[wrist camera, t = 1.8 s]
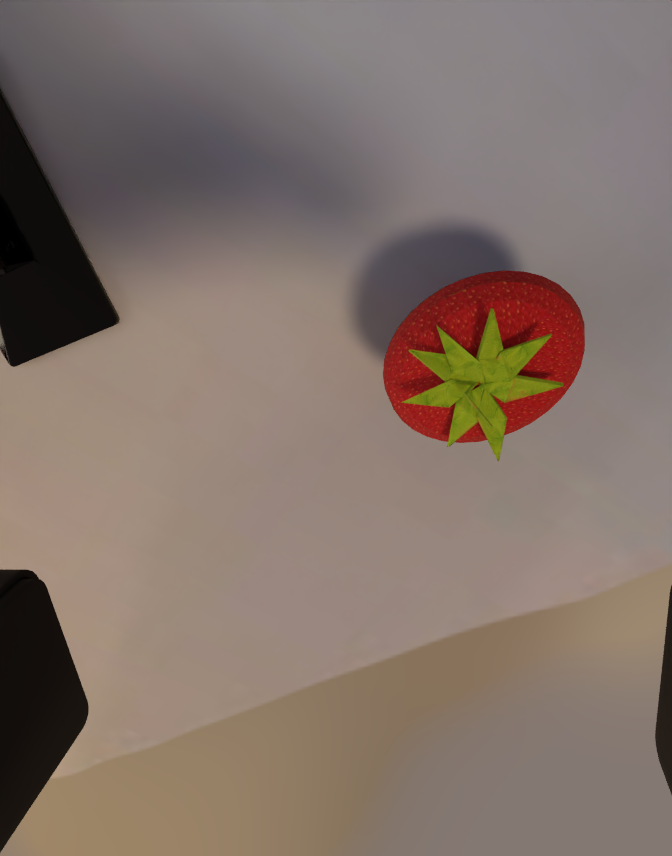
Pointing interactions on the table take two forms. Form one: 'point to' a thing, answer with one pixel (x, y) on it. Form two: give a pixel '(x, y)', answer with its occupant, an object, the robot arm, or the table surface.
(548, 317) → the strawberry
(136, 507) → the table surface
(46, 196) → the build plate
